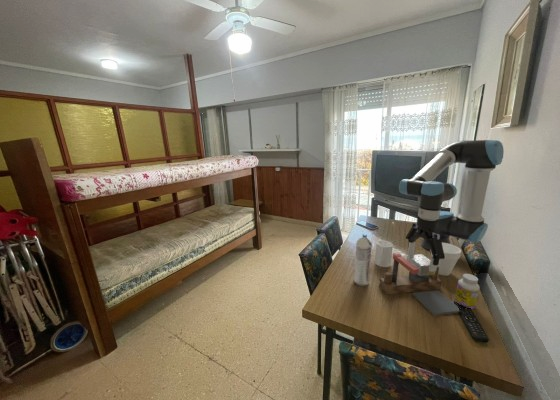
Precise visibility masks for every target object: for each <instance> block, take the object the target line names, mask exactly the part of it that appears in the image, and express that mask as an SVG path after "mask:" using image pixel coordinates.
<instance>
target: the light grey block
mask: <svg viewBox="0 0 560 400" xmlns="http://www.w3.org/2000/svg"><path fill="white" fill-rule="evenodd" d="M406 258H407V259H406V260H407V261H409V262H410V263H412V264H413V265H414V266H416V267H417V268H418V269H419V273H417V274H418V275H419V276H425V275H435V271H431V272H430V271H429V266H430V261H431V259H429V258H428V257H427V256H425V255H424V254H422V253H420V254H414V255H407V256H406Z"/></svg>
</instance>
